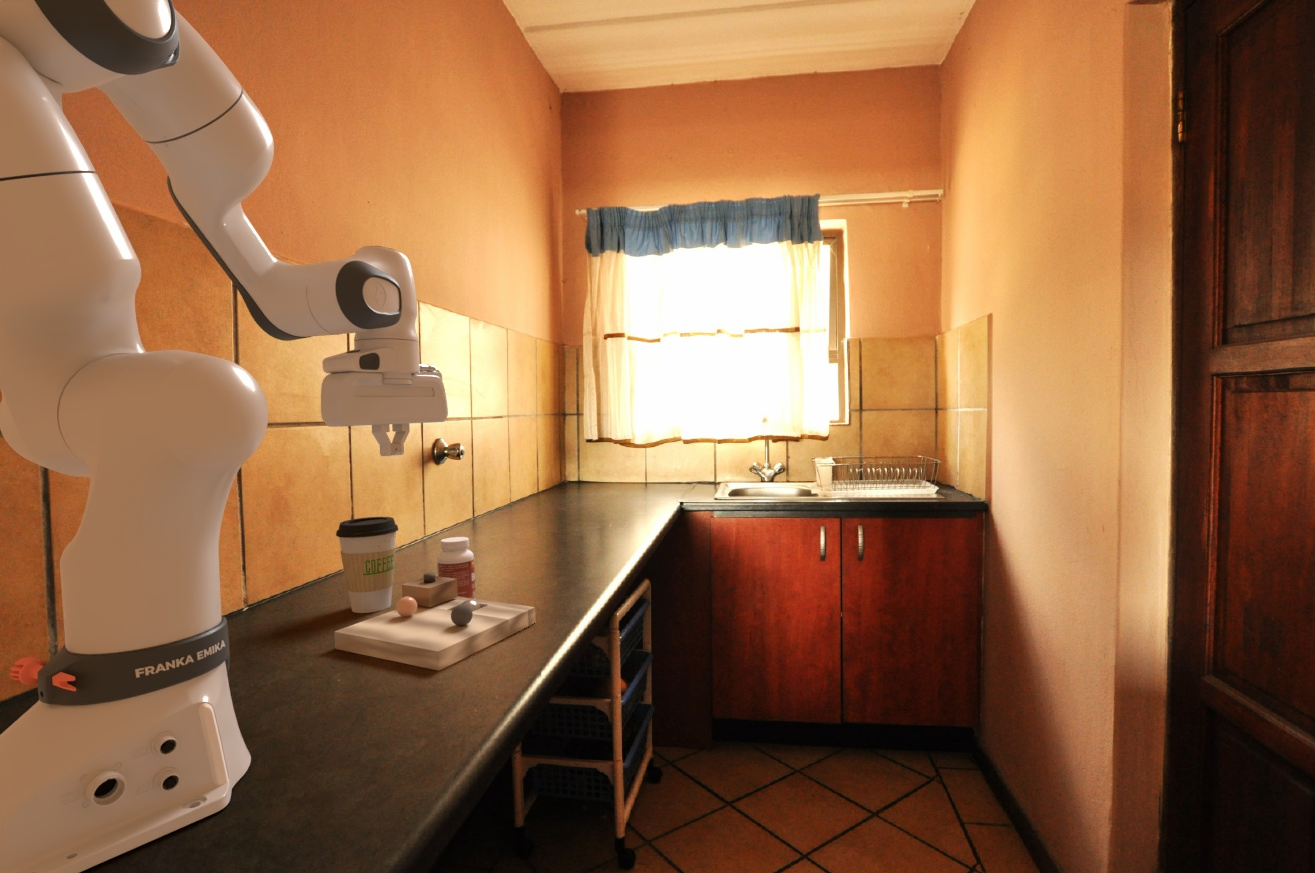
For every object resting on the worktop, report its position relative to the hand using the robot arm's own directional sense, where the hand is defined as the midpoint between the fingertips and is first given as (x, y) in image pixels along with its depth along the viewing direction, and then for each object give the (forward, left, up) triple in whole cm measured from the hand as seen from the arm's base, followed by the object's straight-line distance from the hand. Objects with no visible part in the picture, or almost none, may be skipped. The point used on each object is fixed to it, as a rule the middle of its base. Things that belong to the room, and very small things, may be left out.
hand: (392, 455), depth 98 cm
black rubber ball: (+1, -11, -23) cm, 26 cm away
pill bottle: (+16, +4, -27) cm, 32 cm away
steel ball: (+8, -6, -25) cm, 27 cm away
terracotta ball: (+1, 0, -23) cm, 23 cm away
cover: (+8, +2, -24) cm, 25 cm away
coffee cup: (+8, +16, -27) cm, 33 cm away
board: (+2, -6, -27) cm, 28 cm away
